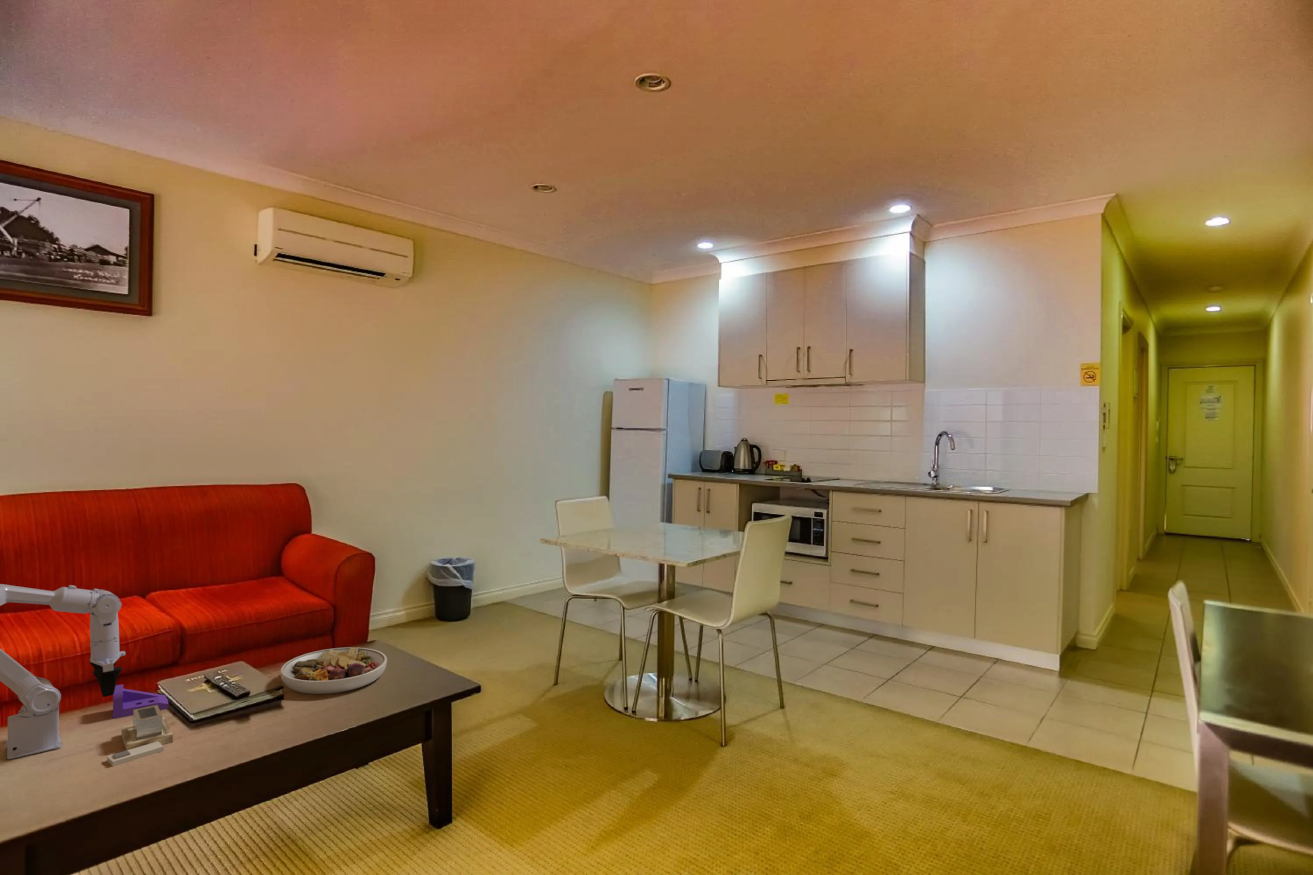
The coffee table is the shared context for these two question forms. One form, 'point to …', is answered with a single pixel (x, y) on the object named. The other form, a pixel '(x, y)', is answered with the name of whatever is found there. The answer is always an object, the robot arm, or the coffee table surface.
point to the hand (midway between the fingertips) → (106, 690)
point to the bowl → (333, 670)
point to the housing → (147, 722)
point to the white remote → (135, 753)
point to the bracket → (135, 701)
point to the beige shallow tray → (133, 743)
